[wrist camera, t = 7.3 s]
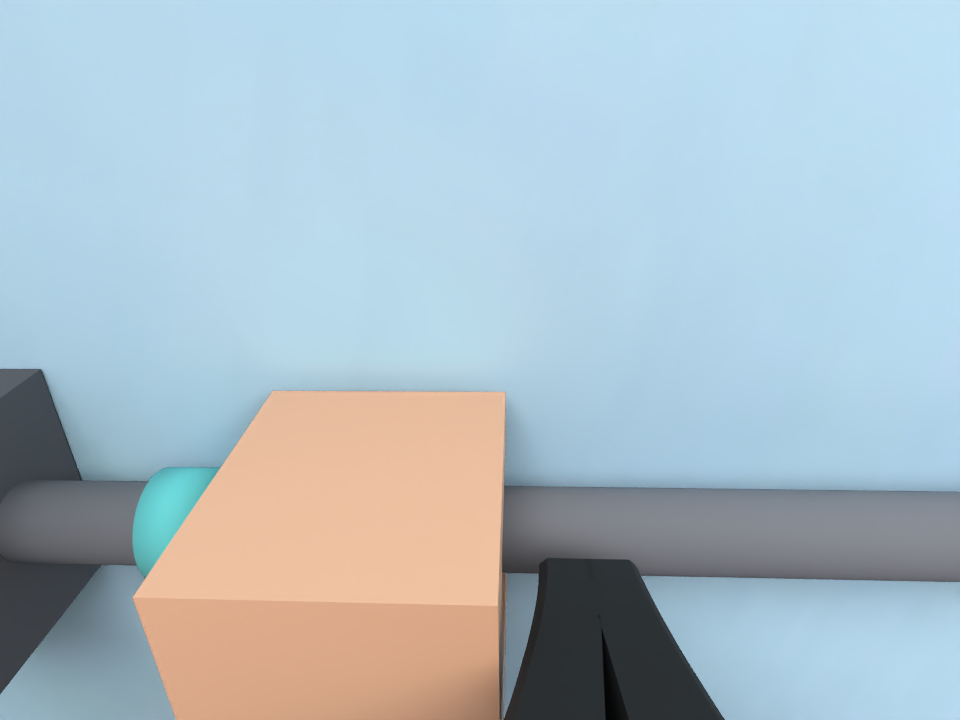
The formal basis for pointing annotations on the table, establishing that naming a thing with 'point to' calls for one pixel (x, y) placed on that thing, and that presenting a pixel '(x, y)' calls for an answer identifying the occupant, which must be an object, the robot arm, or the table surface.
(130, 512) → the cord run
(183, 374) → the table surface
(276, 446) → the sleeve
